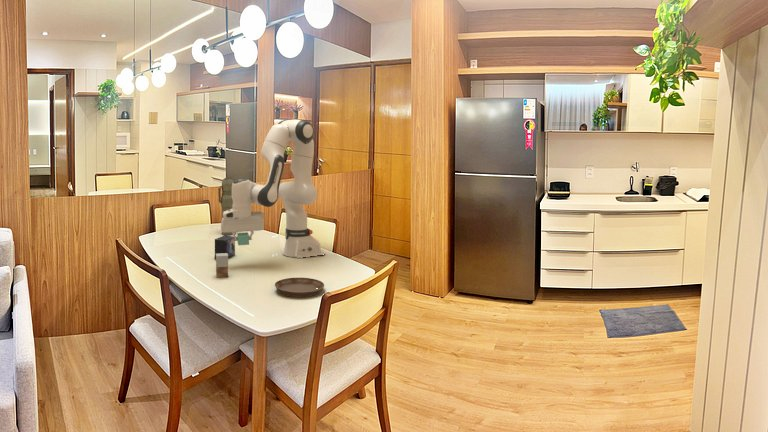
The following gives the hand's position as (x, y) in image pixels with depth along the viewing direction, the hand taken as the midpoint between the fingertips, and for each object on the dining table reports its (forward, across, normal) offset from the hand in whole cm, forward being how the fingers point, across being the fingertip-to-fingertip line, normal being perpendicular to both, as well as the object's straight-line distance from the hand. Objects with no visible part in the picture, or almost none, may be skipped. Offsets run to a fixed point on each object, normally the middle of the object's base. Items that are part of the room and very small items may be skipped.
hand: (243, 240), depth 251 cm
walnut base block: (+12, +11, +17) cm, 23 cm away
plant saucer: (+13, -19, +46) cm, 51 cm away
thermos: (+14, +3, -75) cm, 77 cm away
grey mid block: (+7, +11, +17) cm, 21 cm away
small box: (+13, +8, -17) cm, 23 cm away
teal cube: (+2, 0, 0) cm, 2 cm away
